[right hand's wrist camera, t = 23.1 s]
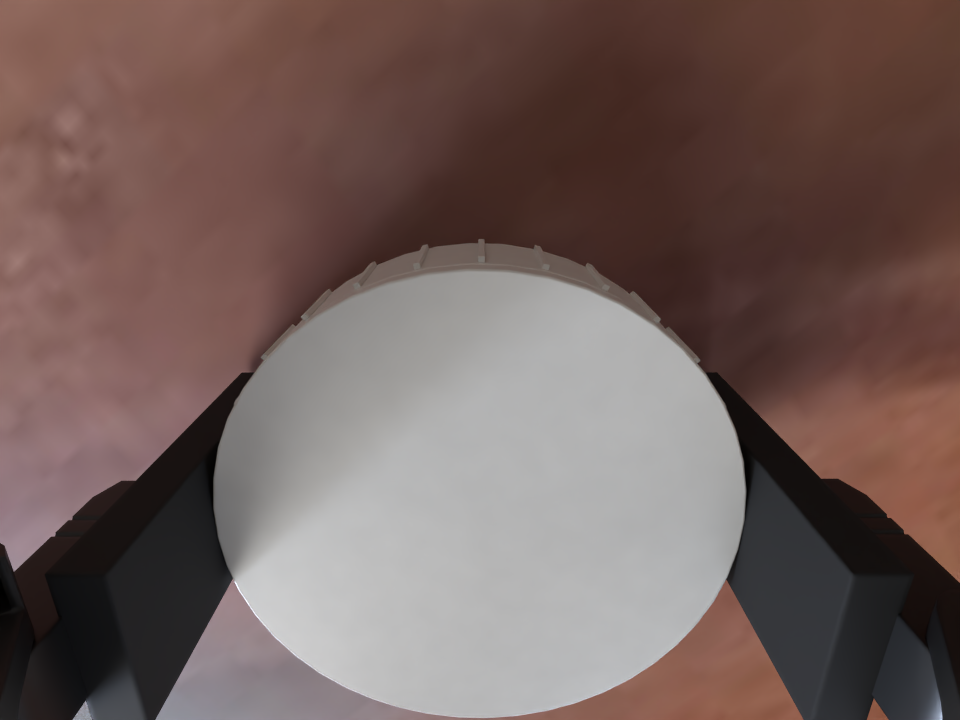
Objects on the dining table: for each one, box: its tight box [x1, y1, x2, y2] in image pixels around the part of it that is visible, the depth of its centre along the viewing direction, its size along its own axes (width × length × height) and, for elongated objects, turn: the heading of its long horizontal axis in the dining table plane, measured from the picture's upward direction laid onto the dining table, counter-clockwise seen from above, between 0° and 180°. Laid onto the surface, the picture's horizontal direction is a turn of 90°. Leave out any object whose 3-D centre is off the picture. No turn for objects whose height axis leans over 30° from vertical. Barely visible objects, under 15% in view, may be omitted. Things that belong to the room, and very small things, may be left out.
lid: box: [213, 239, 746, 718], centre depth 11 cm, size 9×9×2 cm
